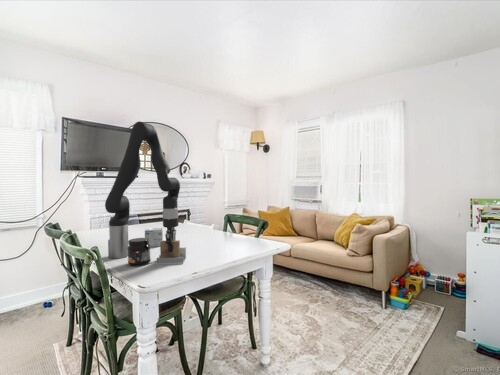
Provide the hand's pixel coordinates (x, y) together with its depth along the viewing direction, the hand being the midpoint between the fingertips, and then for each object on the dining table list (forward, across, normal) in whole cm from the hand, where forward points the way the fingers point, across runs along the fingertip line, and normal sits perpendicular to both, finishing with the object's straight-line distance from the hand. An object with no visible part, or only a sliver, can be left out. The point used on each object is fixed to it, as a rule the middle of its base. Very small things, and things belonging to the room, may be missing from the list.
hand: (171, 251), depth 139 cm
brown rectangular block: (+3, 0, -1) cm, 3 cm away
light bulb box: (+6, -36, -19) cm, 41 cm away
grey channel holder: (+5, 0, 0) cm, 5 cm away
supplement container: (+6, +1, -16) cm, 17 cm away
